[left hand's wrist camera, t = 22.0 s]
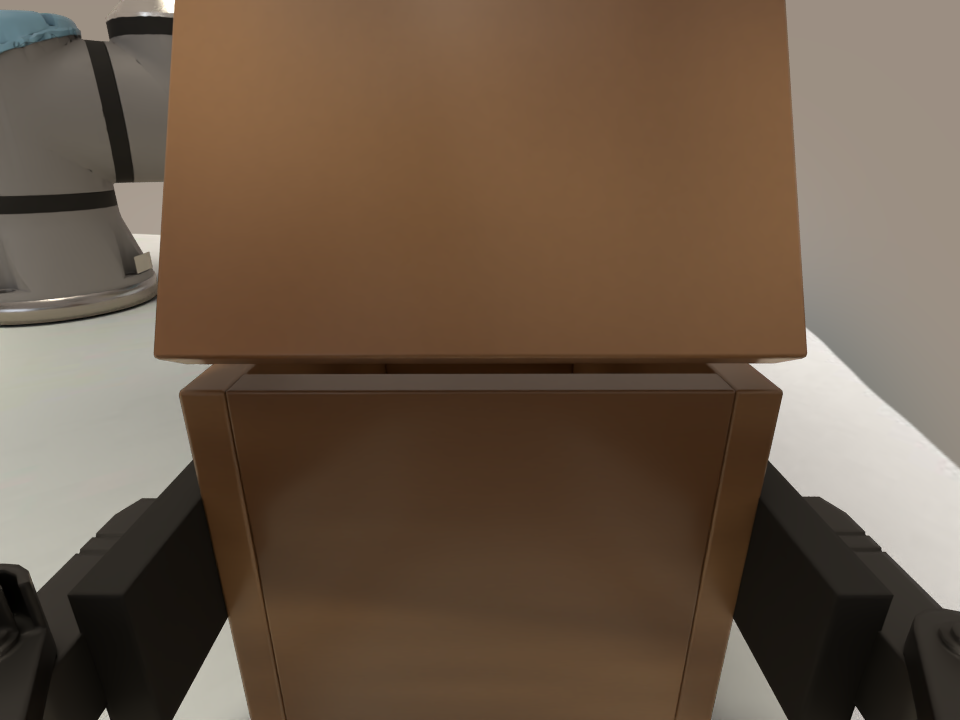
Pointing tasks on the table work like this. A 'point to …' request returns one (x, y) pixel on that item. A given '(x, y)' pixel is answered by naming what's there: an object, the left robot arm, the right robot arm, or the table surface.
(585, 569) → the chest
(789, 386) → the table surface
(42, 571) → the table surface
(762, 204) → the lid
